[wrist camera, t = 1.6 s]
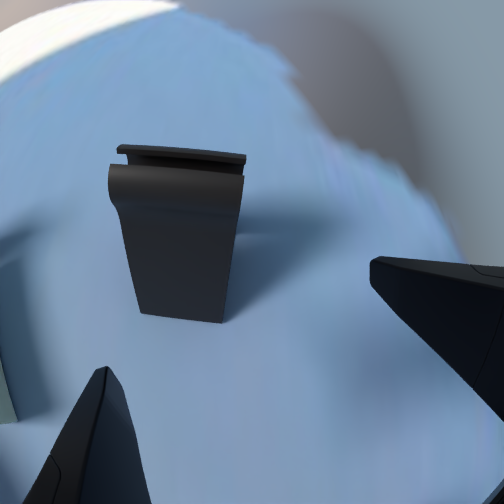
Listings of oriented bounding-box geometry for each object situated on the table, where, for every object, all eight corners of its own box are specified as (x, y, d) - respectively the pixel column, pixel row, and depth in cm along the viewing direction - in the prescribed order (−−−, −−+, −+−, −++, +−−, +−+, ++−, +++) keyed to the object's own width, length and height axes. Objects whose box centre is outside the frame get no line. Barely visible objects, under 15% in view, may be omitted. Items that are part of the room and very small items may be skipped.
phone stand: (162, 208, 25) (141, 94, 14) (233, 216, 26) (253, 103, 15) (141, 314, 21) (80, 247, 10) (221, 324, 22) (235, 266, 11)
